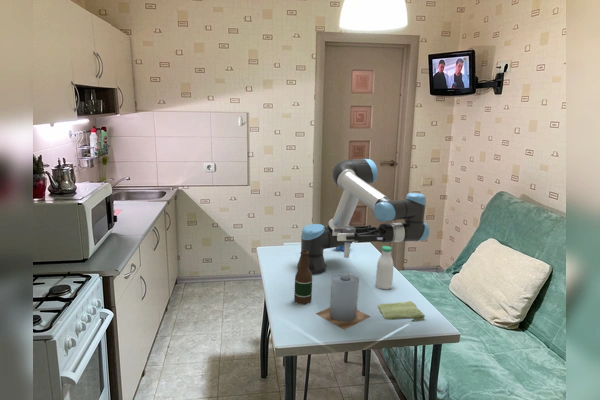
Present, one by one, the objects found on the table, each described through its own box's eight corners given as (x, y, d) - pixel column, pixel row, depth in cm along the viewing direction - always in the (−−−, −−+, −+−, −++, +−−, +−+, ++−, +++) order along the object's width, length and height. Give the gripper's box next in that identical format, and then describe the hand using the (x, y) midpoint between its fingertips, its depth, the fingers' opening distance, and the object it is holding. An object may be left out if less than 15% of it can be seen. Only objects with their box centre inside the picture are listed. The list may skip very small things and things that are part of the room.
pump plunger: (331, 257, 167) (333, 228, 164) (345, 253, 172) (346, 224, 169) (343, 262, 162) (344, 232, 160) (356, 257, 168) (358, 228, 165)
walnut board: (315, 316, 174) (315, 313, 174) (341, 304, 185) (341, 302, 185) (344, 332, 163) (344, 329, 163) (370, 319, 174) (370, 316, 173)
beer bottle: (305, 308, 180) (307, 255, 175) (290, 303, 184) (292, 251, 179) (314, 301, 187) (317, 250, 181) (300, 297, 191) (301, 246, 185)
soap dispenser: (324, 313, 174) (326, 273, 170) (342, 305, 181) (344, 266, 177) (343, 324, 166) (346, 282, 162) (362, 316, 173) (364, 275, 169)
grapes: (351, 249, 255) (352, 229, 252) (352, 252, 248) (354, 233, 245) (332, 248, 255) (333, 229, 252) (332, 252, 248) (333, 232, 245)
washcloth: (374, 308, 183) (374, 301, 183) (412, 306, 186) (413, 299, 186) (385, 324, 171) (385, 317, 170) (426, 321, 174) (426, 314, 173)
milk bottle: (391, 290, 200) (395, 250, 196) (375, 288, 202) (378, 249, 197) (391, 283, 208) (395, 245, 203) (375, 282, 209) (378, 243, 204)
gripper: (399, 249, 161) (341, 252, 157) (380, 234, 179) (328, 236, 174) (401, 230, 160) (342, 232, 155) (382, 217, 177) (329, 218, 172)
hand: (335, 234), depth 164 cm, fingers closed on pump plunger, 6 cm apart
